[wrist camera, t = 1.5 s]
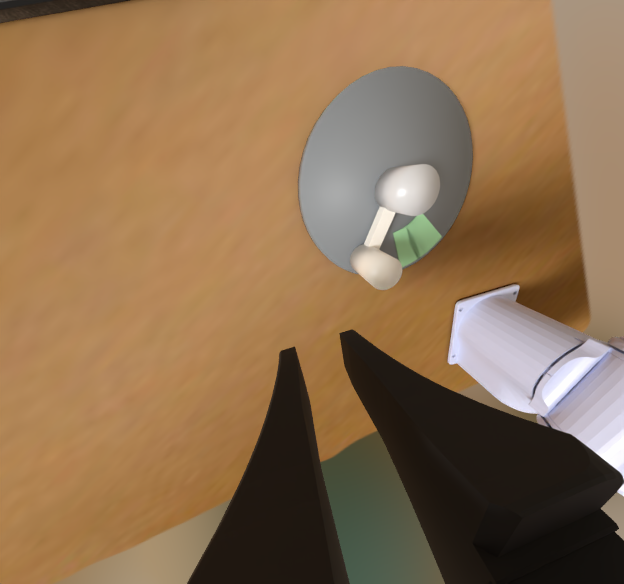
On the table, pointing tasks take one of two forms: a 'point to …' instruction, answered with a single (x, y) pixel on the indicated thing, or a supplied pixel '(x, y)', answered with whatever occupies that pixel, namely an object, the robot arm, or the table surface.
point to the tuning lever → (392, 199)
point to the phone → (43, 7)
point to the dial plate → (383, 163)
